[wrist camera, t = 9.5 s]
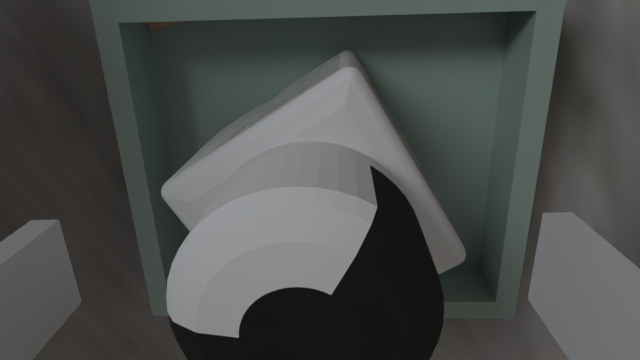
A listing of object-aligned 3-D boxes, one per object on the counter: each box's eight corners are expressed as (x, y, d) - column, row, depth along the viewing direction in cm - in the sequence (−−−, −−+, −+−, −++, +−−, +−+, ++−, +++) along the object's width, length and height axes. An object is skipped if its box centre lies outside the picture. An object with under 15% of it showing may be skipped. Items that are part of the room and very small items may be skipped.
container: (429, 180, 22) (540, 390, 10) (301, 250, 24) (258, 500, 11) (350, 44, 20) (362, 93, 7) (216, 132, 21) (50, 287, 9)
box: (176, 277, 25) (152, 316, 22) (129, -1, 20) (87, -4, 17) (491, 278, 24) (514, 319, 21) (530, -14, 19) (569, -20, 16)
